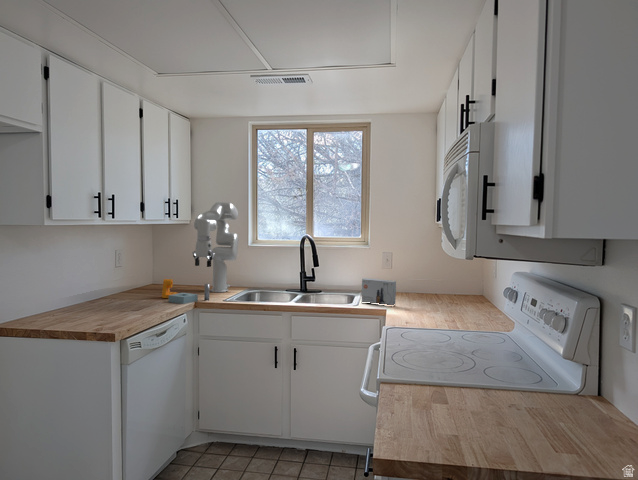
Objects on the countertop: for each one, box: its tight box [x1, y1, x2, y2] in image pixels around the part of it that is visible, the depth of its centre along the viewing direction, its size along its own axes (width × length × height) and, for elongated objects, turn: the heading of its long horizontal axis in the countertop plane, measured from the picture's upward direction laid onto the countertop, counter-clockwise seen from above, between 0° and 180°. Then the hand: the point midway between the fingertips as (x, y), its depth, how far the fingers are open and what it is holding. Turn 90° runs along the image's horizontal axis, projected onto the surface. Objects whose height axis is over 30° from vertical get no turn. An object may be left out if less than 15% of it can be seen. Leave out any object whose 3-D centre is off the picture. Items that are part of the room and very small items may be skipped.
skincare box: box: [361, 277, 397, 305], centre depth 267 cm, size 21×5×16 cm, turn 62°
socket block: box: [168, 292, 199, 305], centre depth 261 cm, size 12×12×4 cm
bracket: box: [161, 278, 178, 299], centre depth 272 cm, size 11×7×12 cm, turn 5°
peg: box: [203, 283, 211, 301], centre depth 267 cm, size 3×3×10 cm
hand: (203, 266), depth 266 cm, fingers open, 9 cm apart
